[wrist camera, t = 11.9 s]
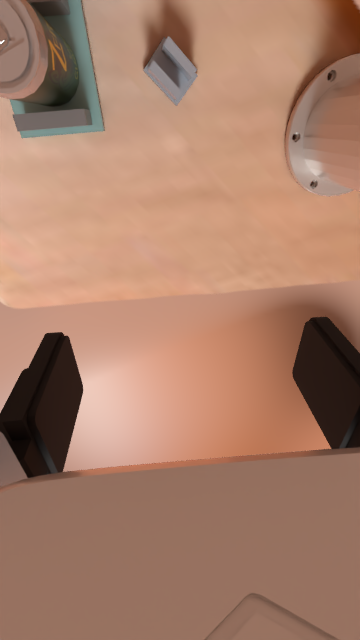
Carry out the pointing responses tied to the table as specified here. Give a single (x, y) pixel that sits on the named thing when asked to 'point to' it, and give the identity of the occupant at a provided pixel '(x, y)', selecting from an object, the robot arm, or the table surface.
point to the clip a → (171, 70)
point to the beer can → (34, 57)
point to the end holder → (84, 108)
